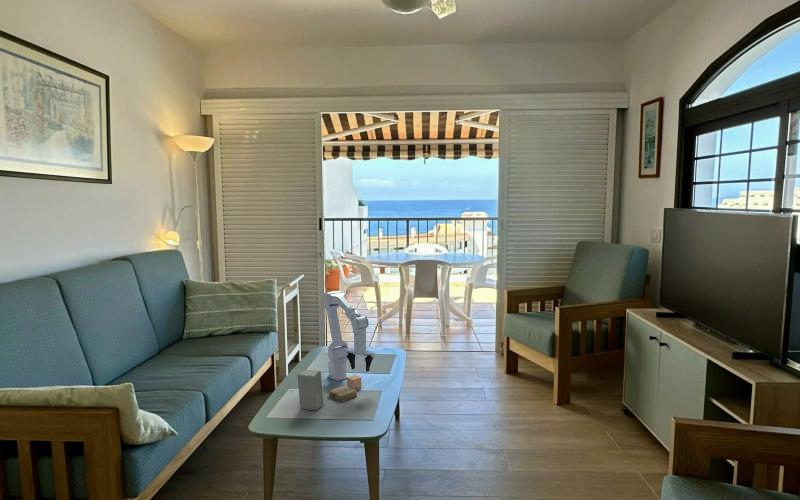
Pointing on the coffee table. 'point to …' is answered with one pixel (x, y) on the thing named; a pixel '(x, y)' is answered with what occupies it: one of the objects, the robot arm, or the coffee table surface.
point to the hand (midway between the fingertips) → (360, 369)
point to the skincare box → (310, 389)
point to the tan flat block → (342, 393)
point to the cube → (354, 382)
